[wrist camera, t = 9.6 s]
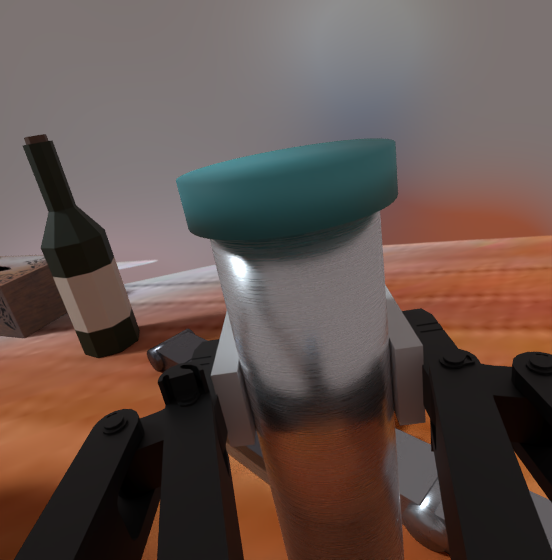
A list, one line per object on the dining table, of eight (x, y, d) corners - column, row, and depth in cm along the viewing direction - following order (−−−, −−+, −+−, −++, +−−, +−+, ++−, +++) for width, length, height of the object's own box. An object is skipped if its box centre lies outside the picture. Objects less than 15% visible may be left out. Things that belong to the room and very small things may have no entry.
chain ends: (568, 711, 19) (576, 677, 17) (130, 379, 51) (122, 359, 50) (614, 518, 26) (622, 485, 25) (206, 334, 58) (200, 316, 57)
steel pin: (364, 676, 12) (287, 184, 6) (250, 561, 16) (136, 184, 10) (442, 540, 16) (437, 131, 10) (332, 471, 19) (281, 146, 14)
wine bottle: (148, 339, 60) (76, 127, 48) (91, 365, 56) (-2, 140, 44) (131, 322, 66) (64, 132, 55) (79, 344, 62) (-5, 144, 51)
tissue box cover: (89, 300, 80) (71, 253, 76) (25, 339, 68) (-1, 286, 64) (6, 297, 90) (-13, 256, 87) (-62, 331, 78) (-88, 285, 75)
